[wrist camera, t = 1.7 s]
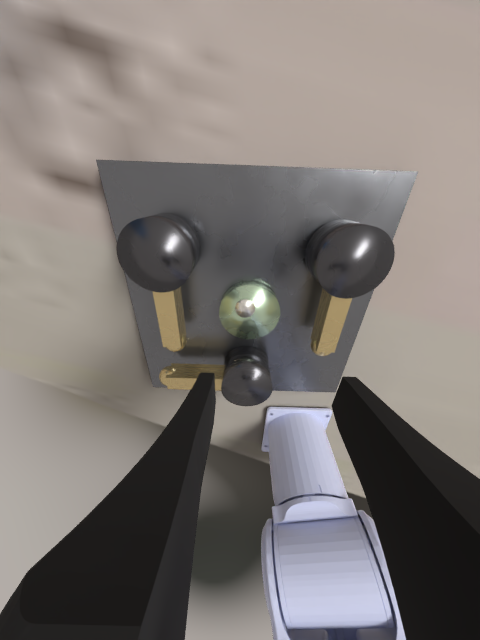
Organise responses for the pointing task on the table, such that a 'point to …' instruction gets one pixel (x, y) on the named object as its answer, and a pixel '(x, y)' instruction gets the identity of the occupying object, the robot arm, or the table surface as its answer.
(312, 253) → the knob
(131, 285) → the dark grey square plate
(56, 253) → the table surface
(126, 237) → the knob
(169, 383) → the knob
